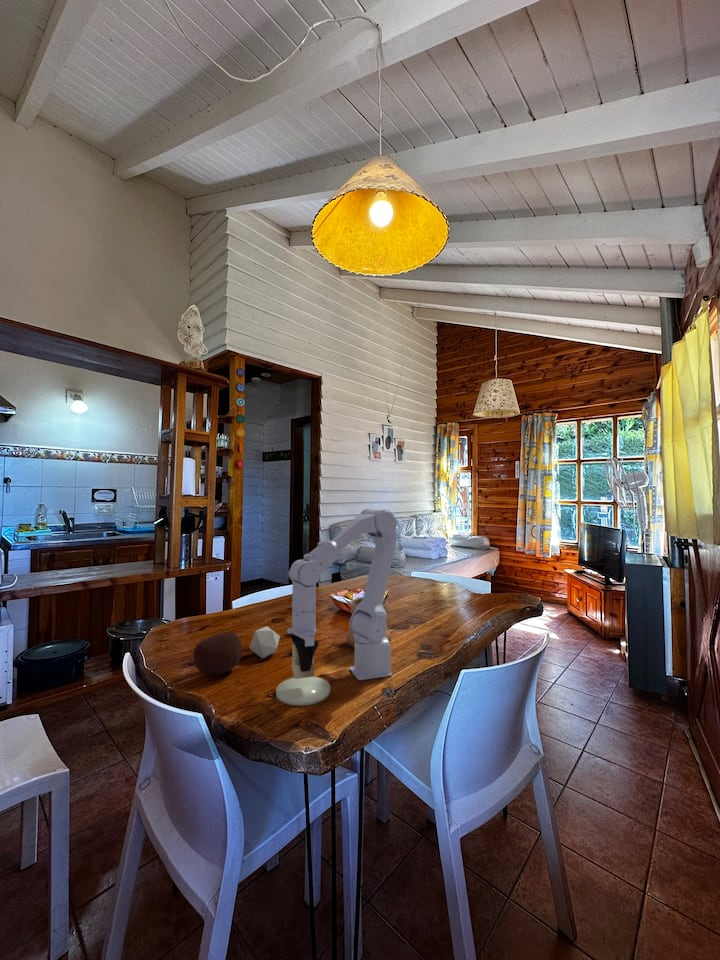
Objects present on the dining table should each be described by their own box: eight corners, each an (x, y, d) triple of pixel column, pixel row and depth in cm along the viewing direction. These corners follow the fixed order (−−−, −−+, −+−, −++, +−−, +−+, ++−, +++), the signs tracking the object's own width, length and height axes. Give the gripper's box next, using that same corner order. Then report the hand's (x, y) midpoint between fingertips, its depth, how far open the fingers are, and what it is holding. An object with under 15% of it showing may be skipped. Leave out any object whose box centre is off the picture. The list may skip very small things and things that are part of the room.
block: (310, 668, 100) (310, 640, 100) (313, 676, 96) (314, 646, 96) (292, 671, 98) (292, 642, 99) (295, 679, 94) (295, 648, 94)
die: (282, 659, 118) (286, 627, 124) (261, 652, 113) (266, 618, 119) (263, 664, 122) (267, 632, 128) (241, 657, 116) (247, 624, 123)
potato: (185, 675, 106) (186, 635, 107) (230, 660, 116) (231, 624, 117) (204, 688, 99) (205, 645, 99) (251, 671, 108) (252, 632, 109)
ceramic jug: (401, 652, 122) (401, 605, 123) (357, 659, 117) (357, 610, 117) (376, 634, 139) (376, 593, 139) (337, 639, 133) (337, 596, 134)
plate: (323, 677, 105) (323, 673, 105) (336, 700, 93) (336, 696, 93) (272, 684, 101) (272, 680, 101) (279, 709, 88) (280, 705, 89)
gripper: (283, 603, 103) (282, 657, 103) (292, 619, 90) (291, 681, 89) (310, 601, 106) (309, 654, 105) (323, 616, 92) (322, 677, 91)
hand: (303, 666), depth 97 cm, fingers closed on block, 4 cm apart
